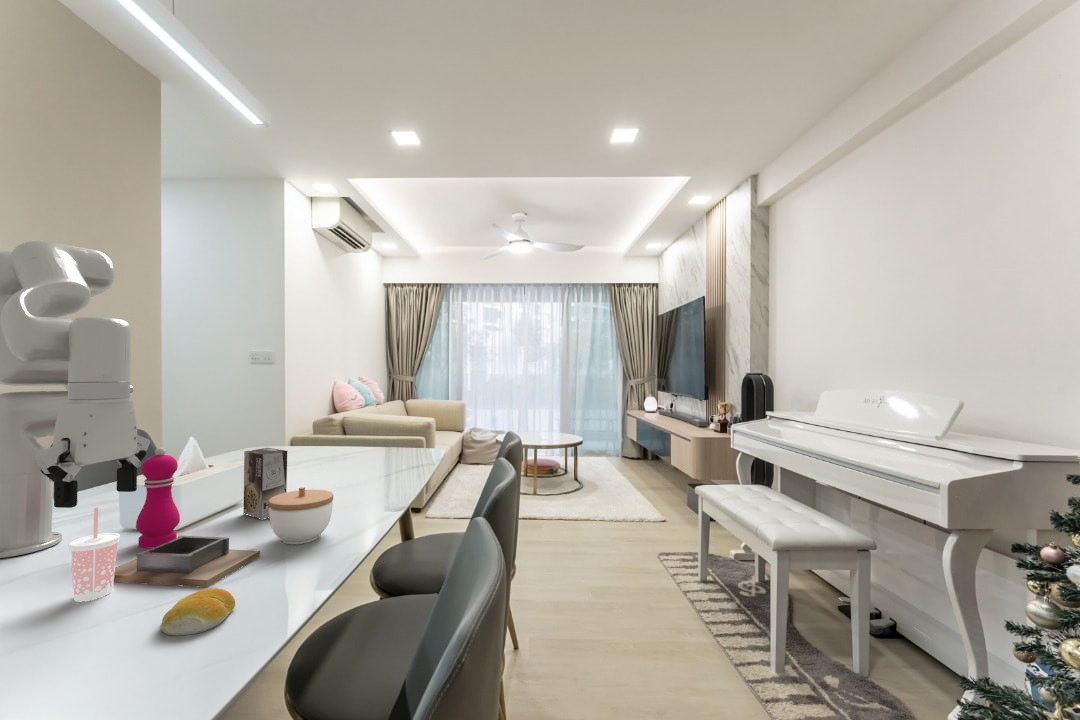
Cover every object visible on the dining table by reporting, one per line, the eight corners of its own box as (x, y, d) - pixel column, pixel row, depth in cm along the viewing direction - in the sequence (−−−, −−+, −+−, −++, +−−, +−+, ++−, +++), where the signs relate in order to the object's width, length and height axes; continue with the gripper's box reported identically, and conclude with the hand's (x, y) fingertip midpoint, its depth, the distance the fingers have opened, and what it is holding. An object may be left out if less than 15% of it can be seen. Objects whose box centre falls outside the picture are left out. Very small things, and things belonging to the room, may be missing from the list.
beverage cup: (119, 582, 81) (122, 500, 82) (118, 596, 77) (120, 509, 77) (69, 593, 77) (72, 507, 78) (64, 608, 73) (67, 516, 73)
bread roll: (241, 603, 75) (242, 577, 75) (217, 634, 67) (217, 605, 67) (182, 608, 73) (183, 582, 74) (148, 640, 65) (149, 611, 65)
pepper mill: (154, 550, 96) (157, 451, 96) (125, 547, 97) (128, 449, 97) (188, 538, 103) (190, 445, 103) (160, 535, 104) (163, 444, 104)
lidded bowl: (253, 546, 99) (254, 492, 99) (297, 526, 111) (298, 479, 111) (304, 552, 96) (306, 497, 96) (344, 531, 108) (345, 483, 108)
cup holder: (99, 581, 82) (100, 556, 82) (165, 552, 95) (166, 531, 95) (207, 587, 80) (207, 562, 80) (259, 556, 93) (260, 535, 93)
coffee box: (287, 514, 120) (288, 450, 121) (261, 520, 115) (262, 454, 115) (267, 508, 125) (269, 446, 125) (241, 514, 120) (243, 450, 120)
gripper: (129, 391, 87) (127, 486, 86) (16, 395, 69) (13, 514, 69) (167, 391, 86) (165, 486, 85) (63, 395, 69) (60, 514, 68)
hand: (97, 498), depth 77 cm, fingers open, 9 cm apart
